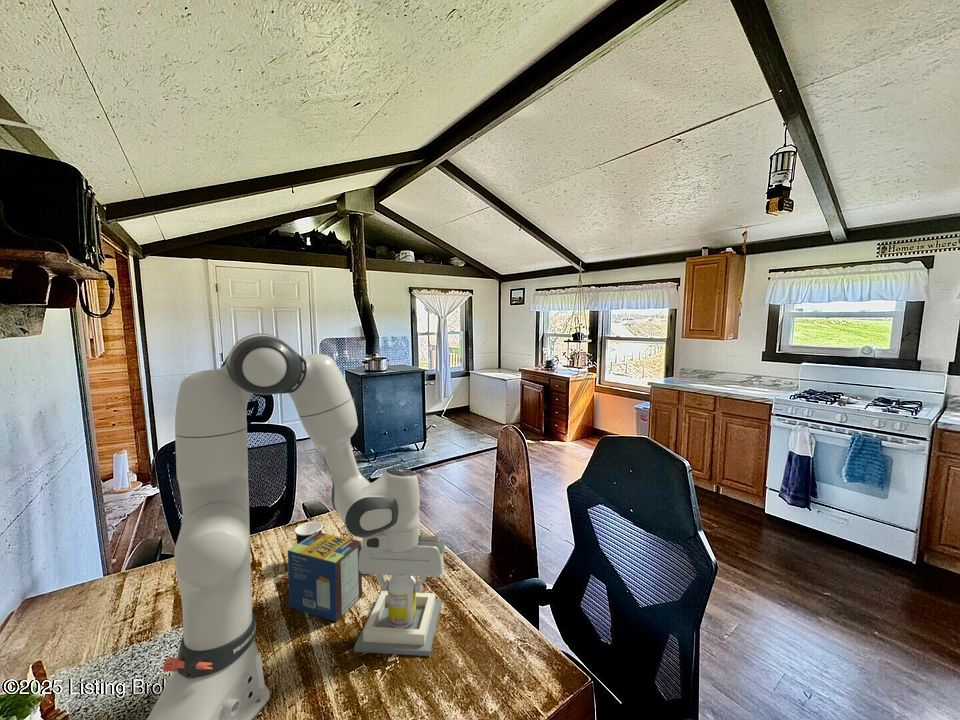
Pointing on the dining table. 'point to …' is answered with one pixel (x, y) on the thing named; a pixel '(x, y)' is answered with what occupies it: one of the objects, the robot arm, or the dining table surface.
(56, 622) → the dining table surface
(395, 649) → the picture frame
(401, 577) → the supplement bottle
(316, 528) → the dixie cup
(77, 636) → the dining table surface
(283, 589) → the pastry
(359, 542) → the protein box
